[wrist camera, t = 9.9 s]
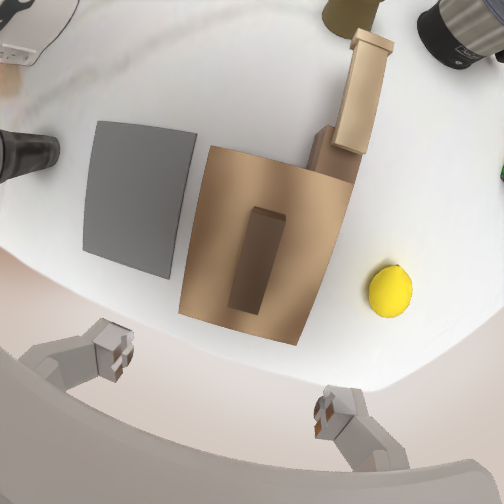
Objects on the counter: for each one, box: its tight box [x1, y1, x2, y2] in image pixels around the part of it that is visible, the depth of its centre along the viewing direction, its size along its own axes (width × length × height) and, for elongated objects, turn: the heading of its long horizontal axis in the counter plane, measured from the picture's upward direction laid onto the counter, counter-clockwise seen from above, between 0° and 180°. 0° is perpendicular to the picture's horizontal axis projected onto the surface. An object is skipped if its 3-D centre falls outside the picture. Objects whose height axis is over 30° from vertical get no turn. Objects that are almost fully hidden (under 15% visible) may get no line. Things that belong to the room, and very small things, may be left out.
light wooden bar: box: [331, 28, 394, 154], centre depth 18 cm, size 3×10×3 cm, turn 166°
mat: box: [83, 121, 197, 279], centre depth 32 cm, size 14×18×1 cm
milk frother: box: [417, 0, 504, 69], centre depth 13 cm, size 14×16×15 cm
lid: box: [178, 146, 354, 346], centre depth 24 cm, size 12×16×5 cm
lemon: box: [369, 265, 412, 318], centre depth 30 cm, size 7×5×5 cm
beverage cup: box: [0, 130, 60, 184], centre depth 22 cm, size 7×7×20 cm
